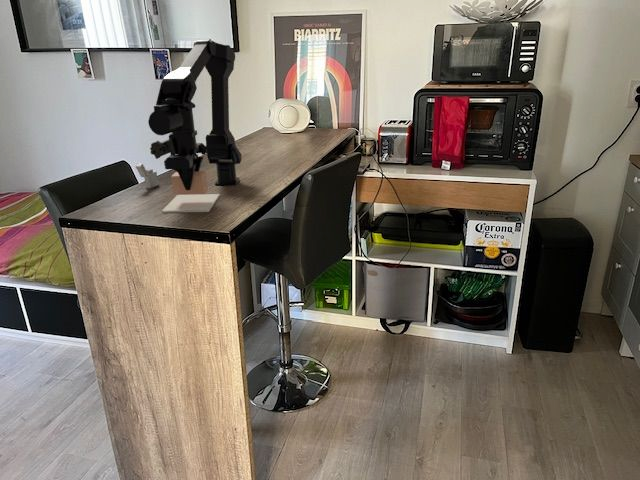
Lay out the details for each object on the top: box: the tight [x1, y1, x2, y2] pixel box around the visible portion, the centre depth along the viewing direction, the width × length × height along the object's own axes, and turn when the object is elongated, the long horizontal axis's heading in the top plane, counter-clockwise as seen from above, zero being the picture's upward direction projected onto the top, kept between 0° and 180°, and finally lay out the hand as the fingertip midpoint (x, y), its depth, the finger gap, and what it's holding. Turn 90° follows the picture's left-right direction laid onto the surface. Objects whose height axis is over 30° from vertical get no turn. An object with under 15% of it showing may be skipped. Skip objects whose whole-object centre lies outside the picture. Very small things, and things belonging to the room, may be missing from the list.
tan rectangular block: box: [170, 170, 209, 196], centre depth 133 cm, size 8×4×5 cm, turn 89°
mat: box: [161, 193, 221, 214], centre depth 135 cm, size 14×12×1 cm
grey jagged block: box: [135, 162, 159, 189], centre depth 150 cm, size 7×2×8 cm, turn 161°
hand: (190, 187), depth 133 cm, fingers closed on tan rectangular block, 4 cm apart
